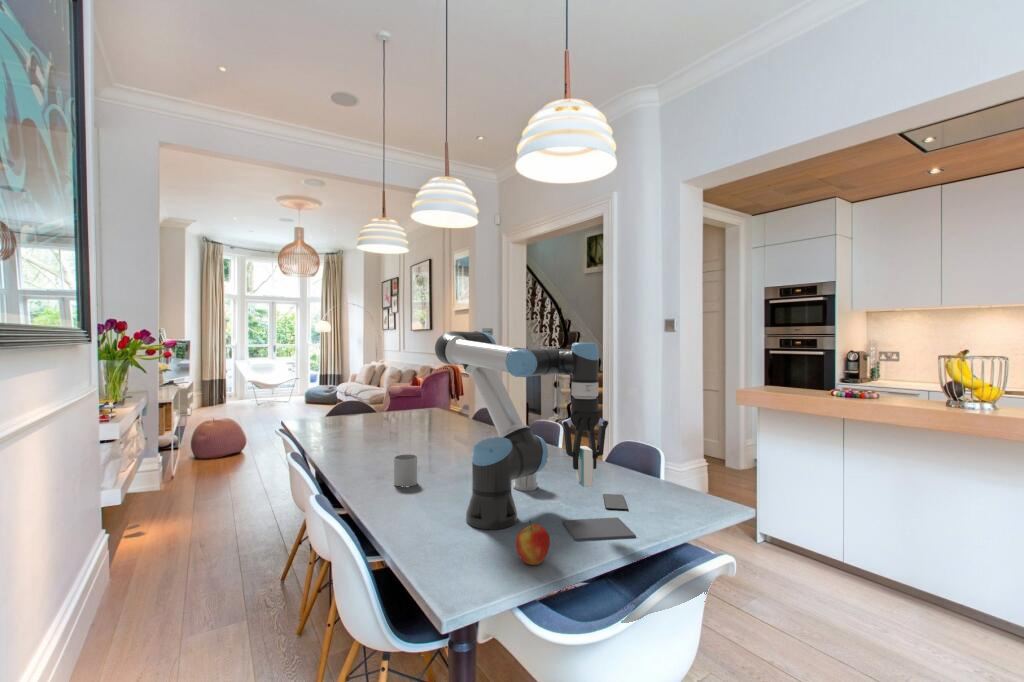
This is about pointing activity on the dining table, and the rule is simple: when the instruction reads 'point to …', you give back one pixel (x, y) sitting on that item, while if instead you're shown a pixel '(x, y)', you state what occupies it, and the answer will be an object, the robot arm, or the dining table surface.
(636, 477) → the dining table surface
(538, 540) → the apple
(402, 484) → the cup
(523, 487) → the cup
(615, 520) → the mat
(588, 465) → the teal white block
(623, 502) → the smartphone
